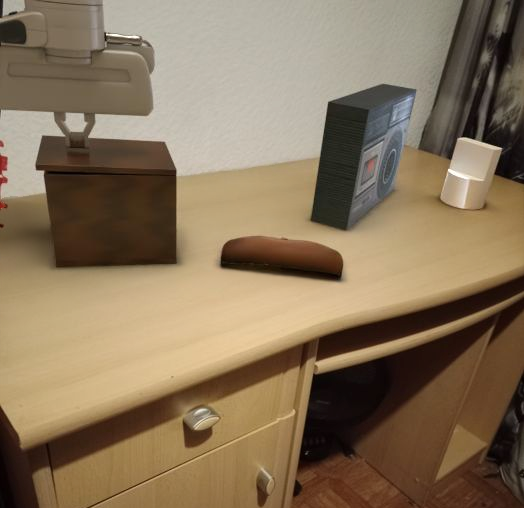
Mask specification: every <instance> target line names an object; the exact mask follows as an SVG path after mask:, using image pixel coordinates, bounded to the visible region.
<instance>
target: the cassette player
mask: <svg viewBox="0 0 524 508" xmlns="http://www.w3.org/2000/svg"><path fill="white" fill-rule="evenodd" d="M417 91H418V89H416V88H411V87H405V86H399V85H393V84H389V83H381V84H378V85H374V86H371V87H369V88H365V89H362V90H359V91H357V92H353V93H351V94H347V95H344V96H341V97H338V98H335V99H332V100H328V102H327V106H326V112H325V113H326V114H325V119H324V125H323V133H322V141H321V146H320V154H319V160H318V166H317V167H318V168H317V173H316V179H315V188H314V194H313V200H312V209H311V214H310V221H311V222H314V223H318V224H321V225H325V226H328V227H333V228H336V229H339V230H343V231H347V230H349V229H350V228H351V227H353V225H355V224H356V223H357V222H359V220H360V219H362V218H363V217H364V216H365V215H367V213H369V212H370V211H371V210H372V209H373V208H374V207H376V206H377V205H378V204H379V203H380V202H382V200H384V199H385V198H386V197H387V196H388V195H390V193H392V192H393V191H394V190H395V185H396V181H397V177H398V172H399V168H400V164H401V159H402V155H403V151H404V146H405V142H406V138H407V133H408V129H409V126H410V122H411V117H412V112H413V109H414V108H413V107H414V103H415V99H416V95H417Z"/></svg>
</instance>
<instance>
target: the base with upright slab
mask: <svg viewBox="0 0 524 508" xmlns="http://www.w3.org/2000/svg"><path fill="white" fill-rule="evenodd" d="M456 140H457V141H456V143H455V147H454V150H453V153H452V157H451V161H450V163H449V168H448V169H447V173H446V176H445V178H444V179H445V180H444V182H443V186H442V190H441V193H440V194H441V195H440V200H441V202H442V203H444V204H446V205H448V206H451V207H454V208H458V209H463V210H471V211H472V210H473V211H474V210H475V211H476V210H481V209H483V208H484V206H485V203H486V200H487V197H488V194H489V191H490V188H491V185H492V182H493V179H494V175H495V172H496V169H497V166H498V163H499V160H500V158H501V154H502V151H503V148H502V147H499V146H495V145H492V144H489V143H486V142H483V141H479V140H477V139H472V138H470V137H469V138H468V137H459V138H457V139H456Z"/></svg>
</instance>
